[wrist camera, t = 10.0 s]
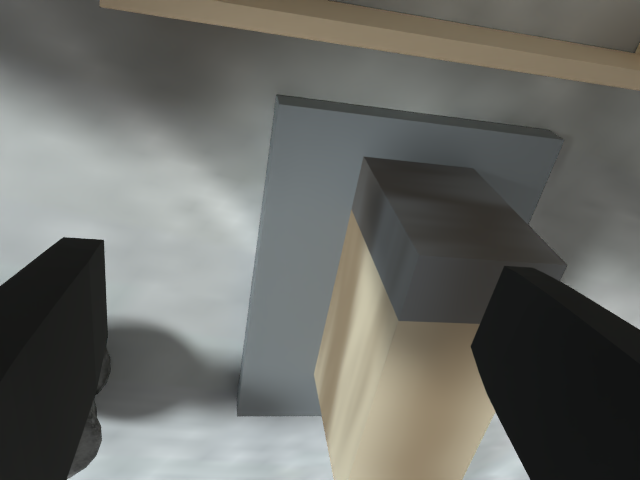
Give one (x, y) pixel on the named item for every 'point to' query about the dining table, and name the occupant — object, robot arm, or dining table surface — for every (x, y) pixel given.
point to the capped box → (415, 319)
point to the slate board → (333, 216)
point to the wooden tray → (405, 36)
